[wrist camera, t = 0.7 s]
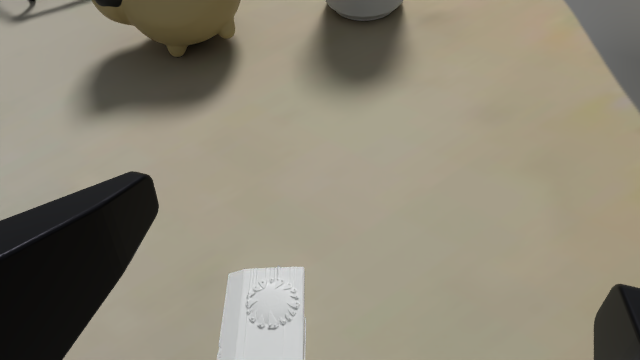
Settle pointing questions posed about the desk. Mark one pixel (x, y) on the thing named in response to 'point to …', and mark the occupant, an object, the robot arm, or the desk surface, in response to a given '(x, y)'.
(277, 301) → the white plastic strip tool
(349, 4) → the can
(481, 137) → the desk surface
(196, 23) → the beige rounded figure
